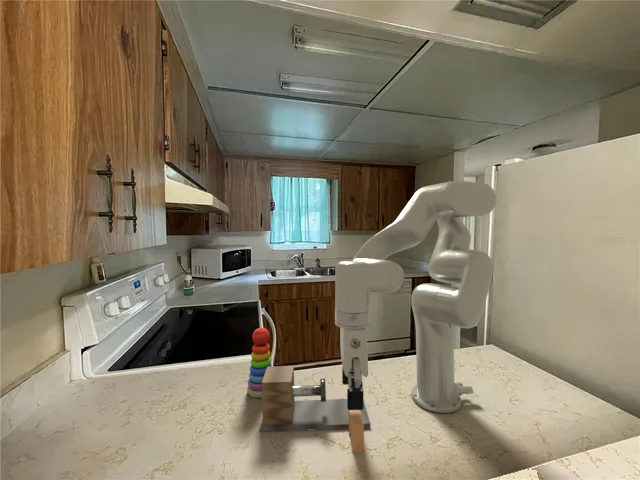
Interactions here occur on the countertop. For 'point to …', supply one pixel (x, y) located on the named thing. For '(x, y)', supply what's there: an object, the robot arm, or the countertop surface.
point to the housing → (299, 406)
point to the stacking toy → (259, 362)
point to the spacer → (356, 430)
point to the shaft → (311, 390)
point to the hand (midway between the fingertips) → (352, 395)
